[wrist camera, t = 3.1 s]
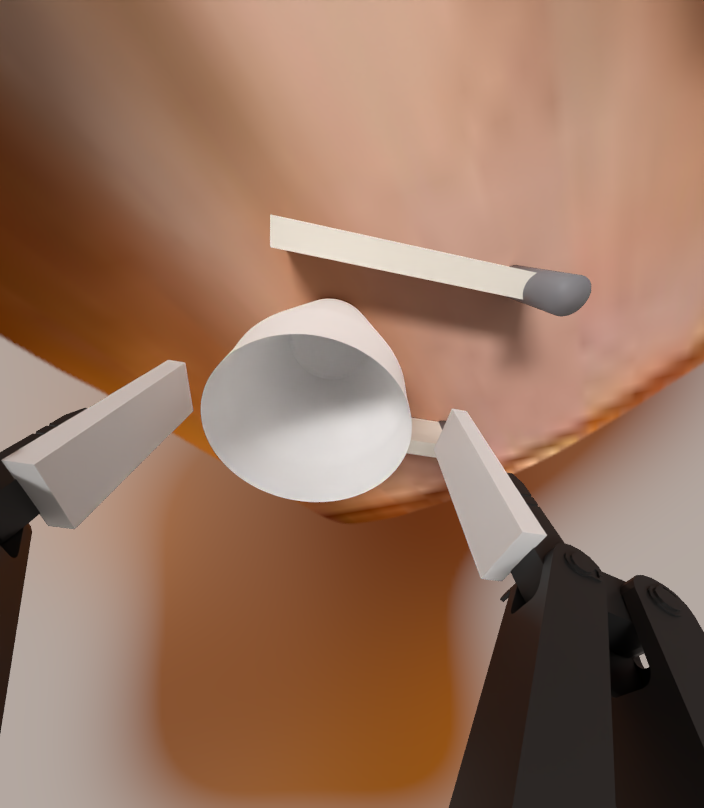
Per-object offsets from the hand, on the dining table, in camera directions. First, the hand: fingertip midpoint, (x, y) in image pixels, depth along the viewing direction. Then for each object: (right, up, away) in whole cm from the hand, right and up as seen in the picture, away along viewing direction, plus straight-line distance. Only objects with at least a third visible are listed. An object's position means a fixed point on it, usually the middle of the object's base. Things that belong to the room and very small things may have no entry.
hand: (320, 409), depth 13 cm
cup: (0, +5, +8) cm, 10 cm away
